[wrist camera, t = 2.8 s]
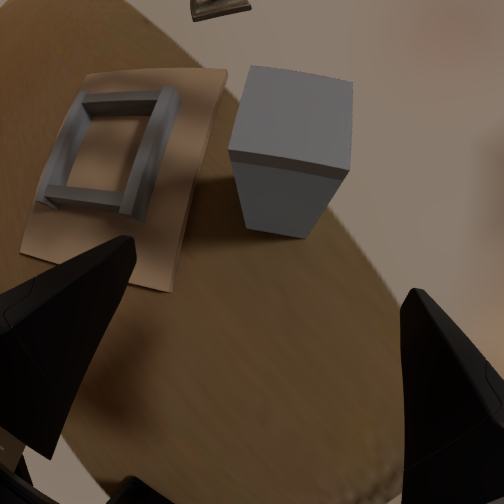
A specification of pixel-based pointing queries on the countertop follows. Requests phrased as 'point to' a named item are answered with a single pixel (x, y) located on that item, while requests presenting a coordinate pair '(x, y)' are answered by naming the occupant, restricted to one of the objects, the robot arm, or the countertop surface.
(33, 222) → the jig cradle
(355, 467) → the countertop surface
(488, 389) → the robot arm
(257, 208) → the block
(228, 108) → the countertop surface
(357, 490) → the countertop surface
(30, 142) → the countertop surface
